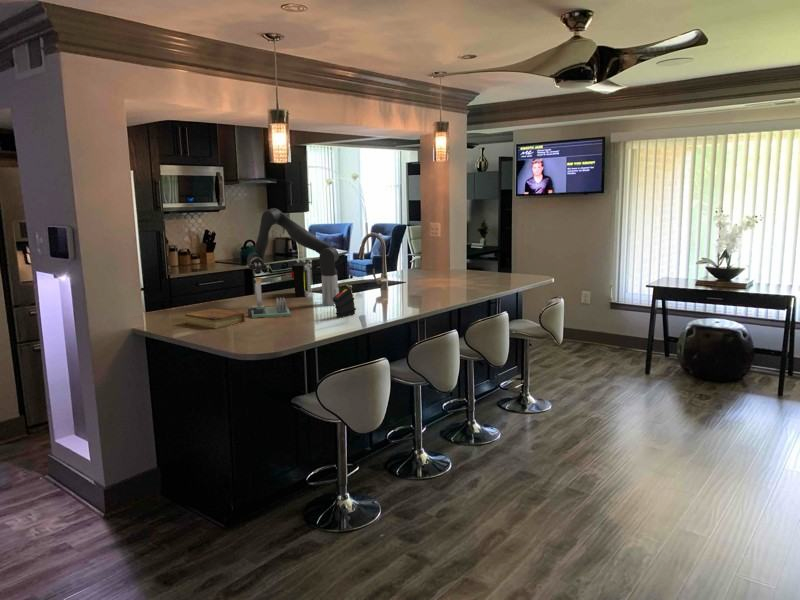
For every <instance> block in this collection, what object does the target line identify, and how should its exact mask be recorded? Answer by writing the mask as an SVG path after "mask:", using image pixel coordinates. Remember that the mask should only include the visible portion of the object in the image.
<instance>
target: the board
mask: <svg viewBox="0 0 800 600" xmlns="http://www.w3.org/2000/svg"><path fill="white" fill-rule="evenodd" d="M265 309H266V314H265V311H264V310H263V314H254V310H252V311H251V319H258V318H257V317H269V318H279V317H278V316H287V317H291V316H292V314H291V313H292V312H290V309H289V307H288V306H287V305H286V309H287V312H283V313H278V312H277V309H276V306H269V307H268V306H267V307H266V306H265Z"/></svg>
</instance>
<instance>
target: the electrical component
mask: <svg viewBox="0 0 800 600" xmlns="http://www.w3.org/2000/svg"><path fill="white" fill-rule="evenodd" d="M311 268H312V264H311V263H310V262H308V261H307V262H305V261H304V262H303V261H302V262H301V261H300V262H296V263H295V262H294V264H292V265H291V272H290V274H291V278H292V279H293V283H294V298H306V297H307V296H309V294H310V293H311V292H313V289H312V285H311V284H312V283H311V282H312V281H311V280H312V279H311V276H312V275H311Z"/></svg>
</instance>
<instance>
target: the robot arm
mask: <svg viewBox="0 0 800 600" xmlns="http://www.w3.org/2000/svg"><path fill="white" fill-rule="evenodd" d="M274 225H278V226H280V227H282V228H283V229H284V230H285V231H286V232H287V234H288V236H289V237H290V239H291V240H292V241H294V242H296V243H297V244H298V245H300V246H301V247H304V248H305V249H310V250H312V251H314V252H316V253H317V254H318V255H319V269H320V272H321V298H322V300H321V303H322V305H324V306H335V305H334V304H335V302H333V297H335V296H336V295H337V294H338V293H340V287H339V286H338V285H339V284H338V283H339V282H338V270H337V268H336V262H337V261H338V260H339V258H340V253H339V250H337V248H335V247H334V246H332V245H329V244H327V242H324V241H322V240H321V239H320V238H318V237H317V236H315V235H314V234H312V233H311V232H310V231H308V230H307V229H306V228H304V227H302V226H301V225H299V224H298V223H297V222H295V221H293V219H291V218H289V217H288V216H287V215H286V214H285V213H283V212H282V210H280V209H278V208H275V207H272V208H269V209H266V210H264V211H263V213H262V215H261V219H260V226H259V231H258V235H257V238H256V241H255V244H254V247H253V252H254V253H250V254H248V256H247V257H246V269H249V270H252V271H254V272H261V271H262V270H263V271H264V270H268V269H269V263H266V264H265V258H266V251H267V248H268V245H269V242H270V241H269V235H270V234H269V233H270V230H271V229H272V226H274Z"/></svg>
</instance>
